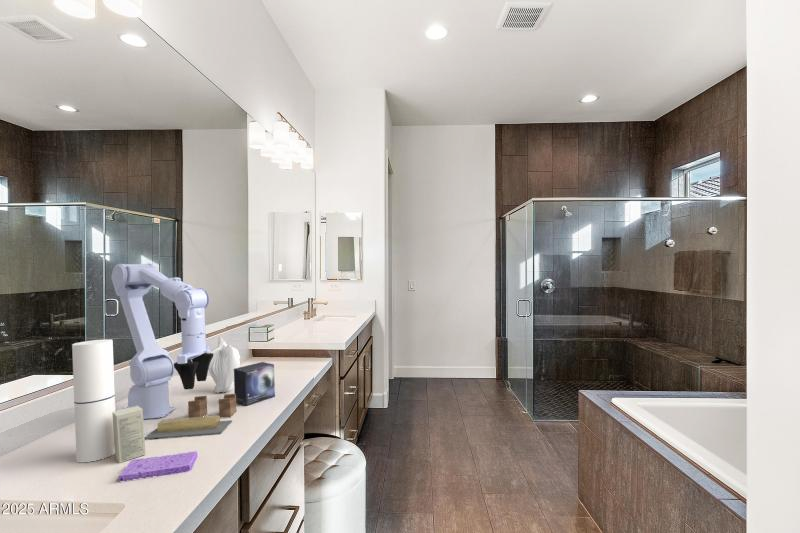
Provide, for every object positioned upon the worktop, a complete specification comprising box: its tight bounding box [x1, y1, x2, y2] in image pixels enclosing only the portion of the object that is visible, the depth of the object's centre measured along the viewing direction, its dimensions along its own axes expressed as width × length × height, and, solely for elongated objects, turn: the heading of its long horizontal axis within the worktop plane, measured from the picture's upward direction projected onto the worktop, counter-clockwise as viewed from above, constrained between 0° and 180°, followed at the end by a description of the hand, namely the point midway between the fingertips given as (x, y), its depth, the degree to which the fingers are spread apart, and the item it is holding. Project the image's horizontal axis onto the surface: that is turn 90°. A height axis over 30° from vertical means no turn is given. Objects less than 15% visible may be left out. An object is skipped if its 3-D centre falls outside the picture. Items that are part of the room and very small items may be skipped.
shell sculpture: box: [208, 336, 241, 394], centre depth 135 cm, size 8×8×18 cm
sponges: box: [117, 450, 198, 482], centre depth 81 cm, size 7×13×2 cm, turn 105°
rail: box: [157, 414, 221, 433], centre depth 101 cm, size 14×3×2 cm, turn 94°
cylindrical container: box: [71, 338, 116, 463], centre depth 89 cm, size 7×7×25 cm
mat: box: [144, 420, 233, 441], centre depth 101 cm, size 18×8×1 cm, turn 94°
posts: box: [187, 393, 238, 419], centre depth 111 cm, size 11×5×5 cm, turn 94°
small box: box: [233, 361, 276, 407], centre depth 124 cm, size 11×6×10 cm, turn 145°
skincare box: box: [112, 406, 147, 464], centre depth 88 cm, size 5×4×10 cm
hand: (195, 384), depth 108 cm, fingers open, 7 cm apart
